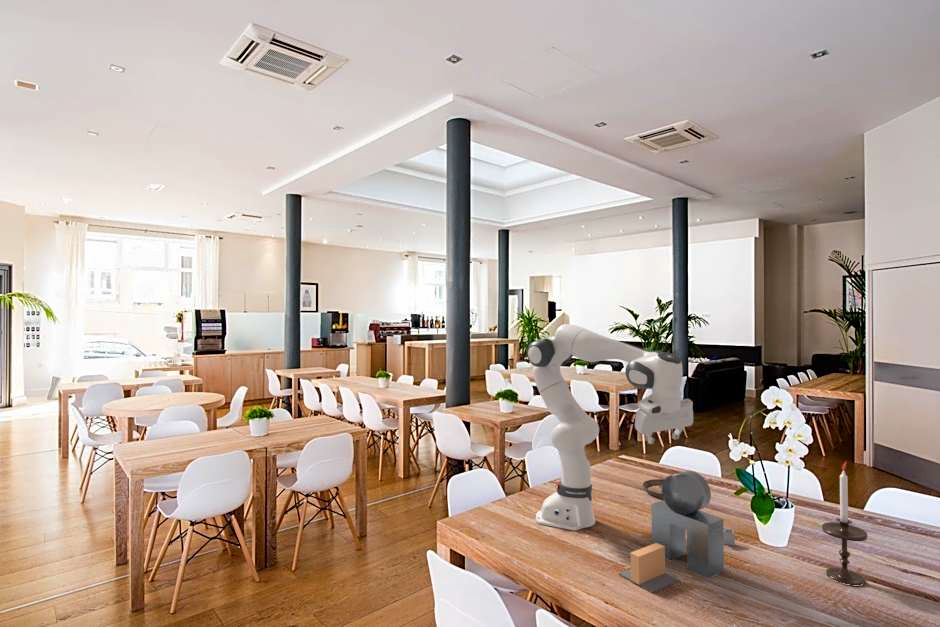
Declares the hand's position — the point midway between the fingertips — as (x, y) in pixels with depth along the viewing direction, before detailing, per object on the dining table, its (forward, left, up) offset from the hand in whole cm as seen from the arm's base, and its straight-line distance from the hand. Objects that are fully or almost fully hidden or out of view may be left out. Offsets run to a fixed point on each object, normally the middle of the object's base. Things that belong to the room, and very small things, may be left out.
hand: (663, 440), depth 169 cm
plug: (-6, -20, -36) cm, 42 cm away
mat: (-6, -20, -37) cm, 42 cm away
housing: (+6, -6, -37) cm, 38 cm away
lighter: (+20, +12, -37) cm, 44 cm away
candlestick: (+50, -4, -37) cm, 62 cm away
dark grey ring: (+6, +60, -37) cm, 71 cm away
